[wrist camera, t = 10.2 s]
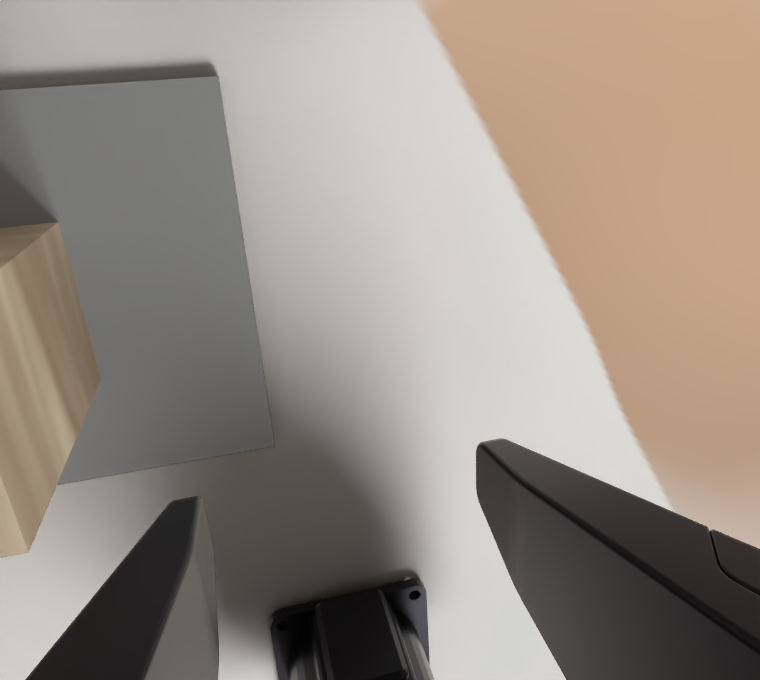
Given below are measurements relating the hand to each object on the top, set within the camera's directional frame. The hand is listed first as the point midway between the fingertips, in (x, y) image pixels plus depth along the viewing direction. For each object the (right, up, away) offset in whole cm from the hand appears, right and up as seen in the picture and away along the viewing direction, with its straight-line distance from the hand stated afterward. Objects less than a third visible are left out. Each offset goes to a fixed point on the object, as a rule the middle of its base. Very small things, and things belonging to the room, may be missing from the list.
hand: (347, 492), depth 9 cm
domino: (-9, +3, +9) cm, 13 cm away
